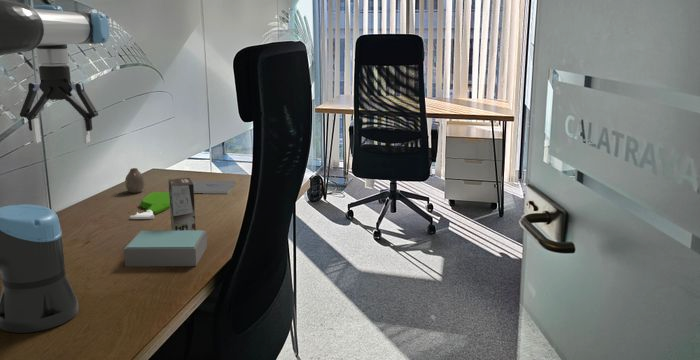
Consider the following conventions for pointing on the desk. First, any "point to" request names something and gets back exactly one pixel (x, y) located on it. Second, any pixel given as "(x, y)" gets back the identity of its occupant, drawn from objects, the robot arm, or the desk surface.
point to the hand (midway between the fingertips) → (62, 142)
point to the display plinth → (166, 248)
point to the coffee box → (182, 204)
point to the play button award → (212, 186)
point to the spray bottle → (153, 205)
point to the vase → (134, 181)
